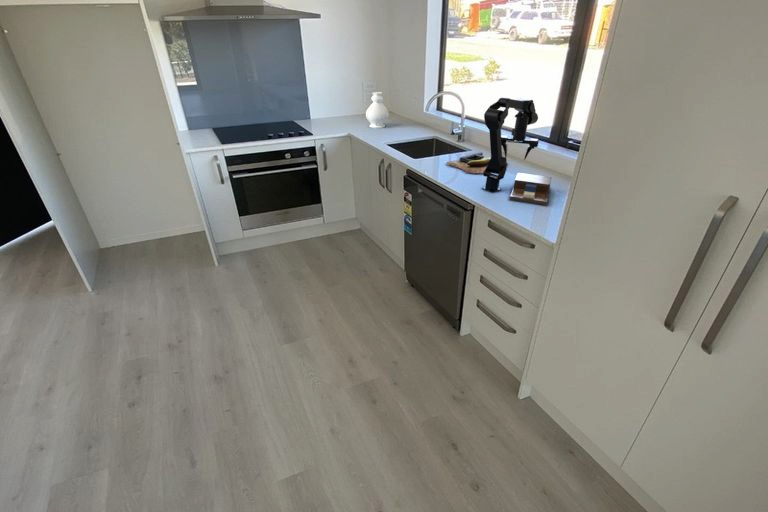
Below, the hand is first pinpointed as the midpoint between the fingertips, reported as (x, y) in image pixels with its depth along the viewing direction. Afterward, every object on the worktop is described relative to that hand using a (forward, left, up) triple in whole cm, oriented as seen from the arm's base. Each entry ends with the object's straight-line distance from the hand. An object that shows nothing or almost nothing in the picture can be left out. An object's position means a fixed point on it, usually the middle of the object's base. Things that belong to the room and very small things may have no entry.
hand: (515, 158), depth 199 cm
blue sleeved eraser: (-13, -20, -10) cm, 26 cm away
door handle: (+12, +33, -12) cm, 37 cm away
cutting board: (+8, +28, -10) cm, 31 cm away
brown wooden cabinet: (-8, -17, -12) cm, 22 cm away
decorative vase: (+20, +145, -12) cm, 147 cm away
